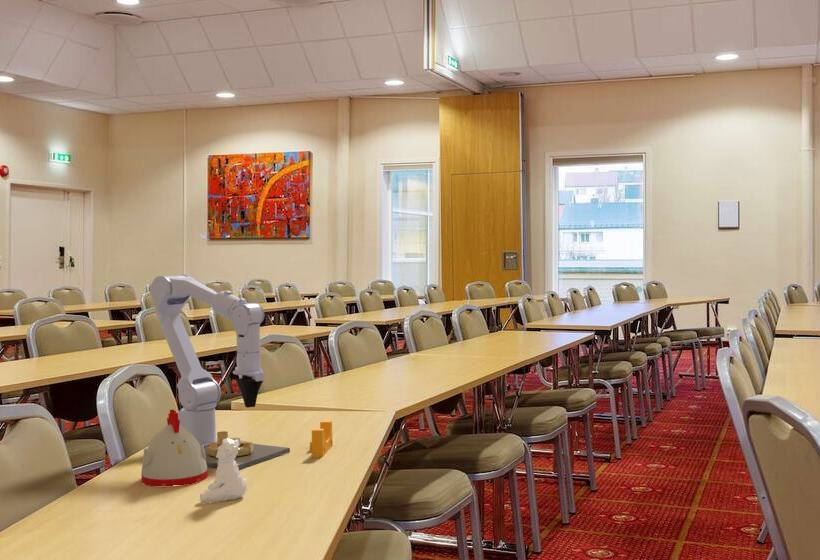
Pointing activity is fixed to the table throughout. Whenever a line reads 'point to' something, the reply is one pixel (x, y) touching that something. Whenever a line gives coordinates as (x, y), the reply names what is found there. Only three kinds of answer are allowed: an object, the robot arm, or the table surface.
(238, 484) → the seated beast figurine
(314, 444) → the pipe clamp
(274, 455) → the housing
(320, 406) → the table surface
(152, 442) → the kitchen timer
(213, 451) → the ring nut
